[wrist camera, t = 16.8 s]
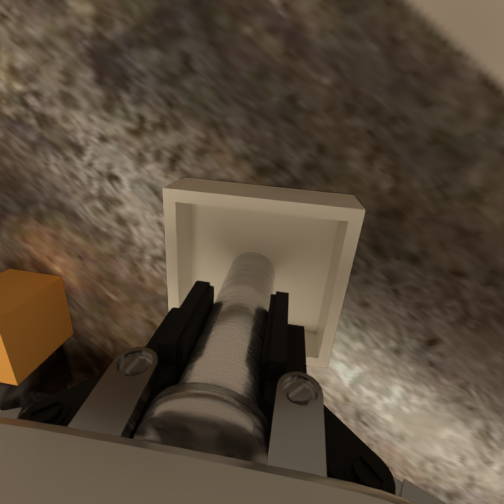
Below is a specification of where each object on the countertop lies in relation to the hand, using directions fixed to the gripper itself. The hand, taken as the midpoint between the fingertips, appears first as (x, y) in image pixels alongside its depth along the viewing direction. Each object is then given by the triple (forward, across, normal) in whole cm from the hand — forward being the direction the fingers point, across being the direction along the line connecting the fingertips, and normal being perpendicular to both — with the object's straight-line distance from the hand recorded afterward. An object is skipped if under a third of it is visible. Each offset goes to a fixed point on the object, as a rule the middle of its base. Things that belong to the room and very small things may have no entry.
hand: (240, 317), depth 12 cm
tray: (+6, 0, 0) cm, 6 cm away
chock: (+6, +16, +6) cm, 18 cm away
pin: (+4, 0, 0) cm, 4 cm away
